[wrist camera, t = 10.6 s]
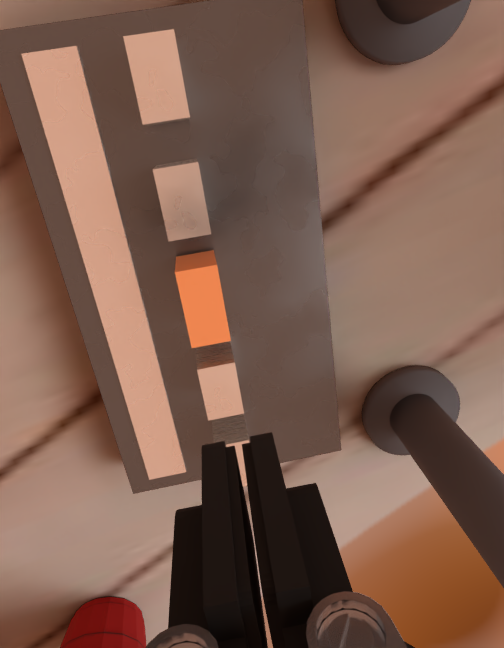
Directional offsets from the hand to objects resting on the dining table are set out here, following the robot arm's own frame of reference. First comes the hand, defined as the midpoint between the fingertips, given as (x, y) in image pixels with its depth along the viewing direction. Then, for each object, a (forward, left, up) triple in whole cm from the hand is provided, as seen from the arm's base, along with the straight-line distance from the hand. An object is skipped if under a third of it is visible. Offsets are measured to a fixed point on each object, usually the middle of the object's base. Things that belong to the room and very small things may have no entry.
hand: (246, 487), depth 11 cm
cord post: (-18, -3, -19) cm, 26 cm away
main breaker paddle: (0, 0, -16) cm, 16 cm away
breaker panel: (0, 0, -19) cm, 19 cm away
